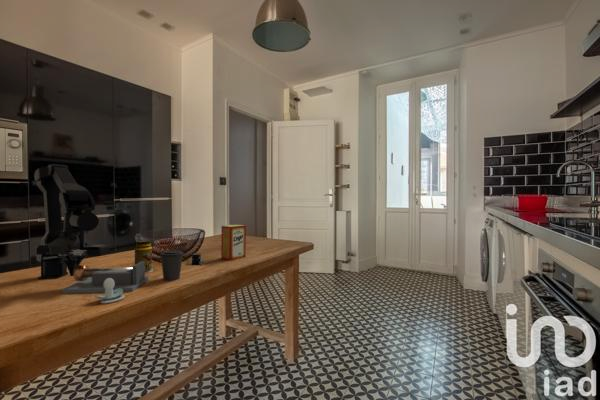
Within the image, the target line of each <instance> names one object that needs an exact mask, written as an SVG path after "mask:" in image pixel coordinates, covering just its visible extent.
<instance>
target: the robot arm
mask: <svg viewBox="0 0 600 400" xmlns="http://www.w3.org/2000/svg"><path fill="white" fill-rule="evenodd" d="M33 176H34V181H36V187H38V188H37V189H39V190H40V191H41V192H42V195H43V203H44V204H43V205H44V220H45V234H44V235H43V236H42V238H41V240H40V244H38V246H36V248H35V257H36V261H37V262H39V263H40V276H37V279H58V278H61V277H64V276H65V275H68V274H69V277H74V271H75V269H76V267H77V266H78V265H81V263H82V261H83V260H84V258H85V257H86V256H88V257H99V256H102V255H107V254H109V253H110V249H109V248H110V247H109V246H108V245H107V244H99V243H98V244H97V243H96V244H92V245H89V246H88V242H86V234H89V232H90V231H93V230H95V229H96V228H97V226H98V225H99V221H100V219H99V217H98V216H97V215H96V213H94V212H93V211H95V210H96V208H95V207H96V204H95V200H94V199H93V196H92V194H91V192H90V191H89V190H88V189H87V188H86V187H85V186H83V185H80V184H78V183H77V181H76V180H75V179H74V177H73V176H72V174H71V172H70V171H69V166H68V165H65V164H56V163H55V164H53V163H52V164H49V165H46V166H43V167H42V166H41V167H39V168H37V169H36V170H35V171H34V175H33ZM62 210H63V212H64V214H63V216H64V217H63V220H62Z"/></svg>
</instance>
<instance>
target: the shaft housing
mask: <svg viewBox="0 0 600 400" xmlns="http://www.w3.org/2000/svg"><path fill="white" fill-rule="evenodd" d="M107 278H112V279H113V280H114V282H115V285H114V287H113V290H115V289H118V288H122V289H123V293H125V292H126V293H129V292H133V291H135V290H137V289H138V288H139V287H141V286H142V285H143V284H144V283H146V282H147V281H148V280H149V276H148V275H146V273H145V261H141V262H139V263H137V264H135V263H134V265H132V272H101V273H93V274H92V278H88V279H87V280H85V281H76V282H75V283H73V284H71V285H68V286H67V287H65V288H62V289H61V295H62V294H90V293H91V294H92V293H105V288H104V286H103V283H104V281H105V280H106V279H107Z"/></svg>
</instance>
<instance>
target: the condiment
mask: <svg viewBox="0 0 600 400" xmlns="http://www.w3.org/2000/svg"><path fill="white" fill-rule="evenodd" d="M141 261H145V274H146V273H152V272H154V269H153V247H152V241H151V240H150V239H143V240H142V239H141V240H137V241H135V249H134V265H135V264H137V263H139V262H141Z"/></svg>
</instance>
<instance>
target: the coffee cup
mask: <svg viewBox="0 0 600 400" xmlns="http://www.w3.org/2000/svg"><path fill="white" fill-rule="evenodd" d="M184 254H185V253H184V252H183V251H182V250H181V251H180V250H176V249H171V250H166V251H164V252H163V251H162V252H160V254H159V257H160V258H161V259H160V260H161V268H162V269H161V270H162V279H163V281H168V282H171V281H177V280H179V279H180V278H181V272H182V271H181V270H182V263H183V255H184Z"/></svg>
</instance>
